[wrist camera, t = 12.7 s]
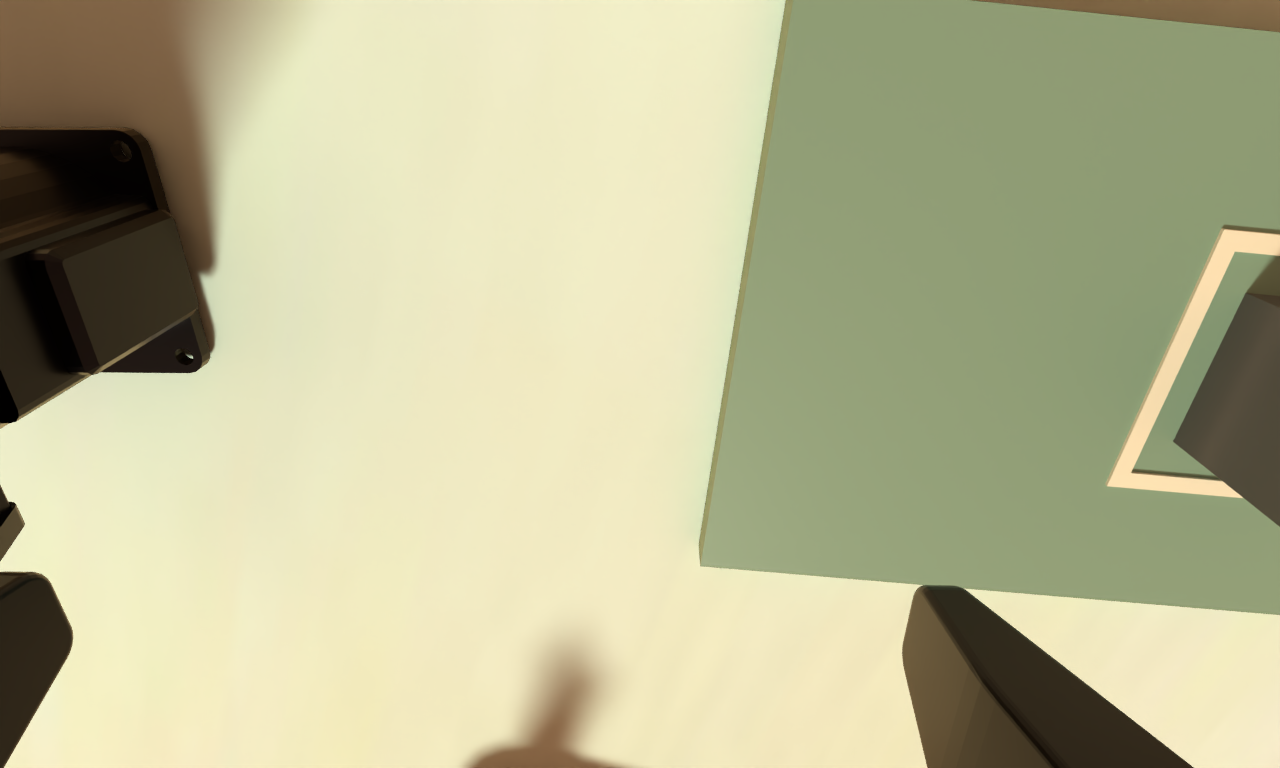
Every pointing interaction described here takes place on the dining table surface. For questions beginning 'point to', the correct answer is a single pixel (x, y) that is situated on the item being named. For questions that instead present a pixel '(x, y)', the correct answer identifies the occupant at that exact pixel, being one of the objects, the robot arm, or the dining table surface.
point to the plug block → (1242, 407)
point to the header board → (998, 303)
